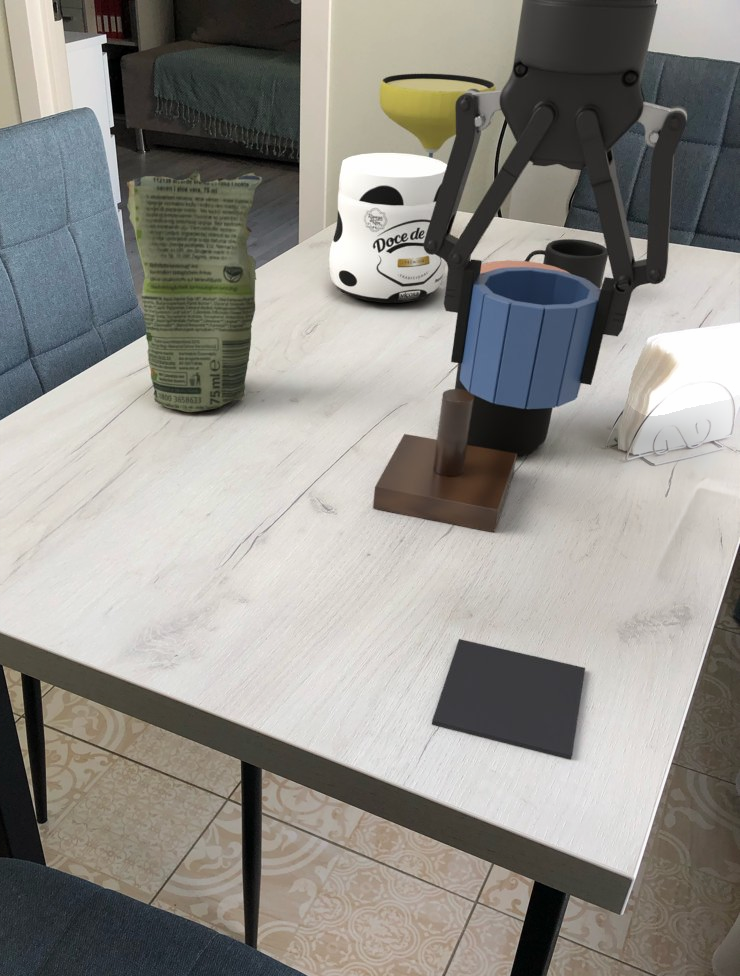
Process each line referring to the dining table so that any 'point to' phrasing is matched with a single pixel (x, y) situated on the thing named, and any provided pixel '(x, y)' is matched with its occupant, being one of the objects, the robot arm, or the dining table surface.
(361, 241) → the doce de leite jar
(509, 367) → the ring
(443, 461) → the stand
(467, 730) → the mat
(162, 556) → the dining table surface
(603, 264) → the mug
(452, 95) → the cocktail glass
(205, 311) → the pouch
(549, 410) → the coffee jar
